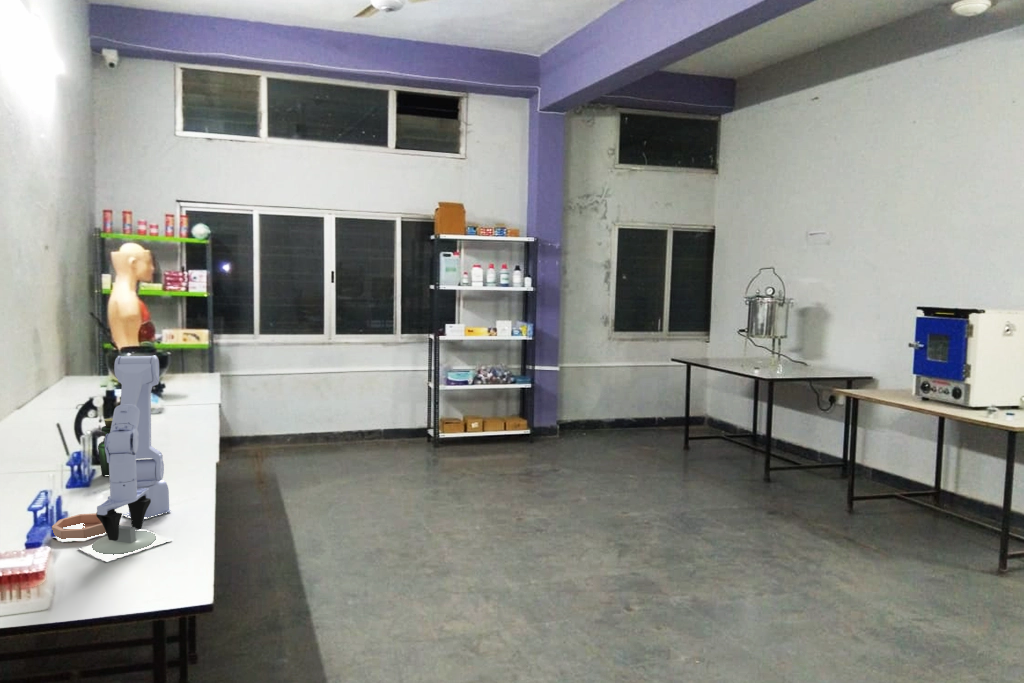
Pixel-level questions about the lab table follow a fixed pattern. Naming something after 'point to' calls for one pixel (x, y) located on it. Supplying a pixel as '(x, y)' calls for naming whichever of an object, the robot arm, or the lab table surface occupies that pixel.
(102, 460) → the potion bottle
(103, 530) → the bowl
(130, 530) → the lid
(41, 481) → the lab table surface
